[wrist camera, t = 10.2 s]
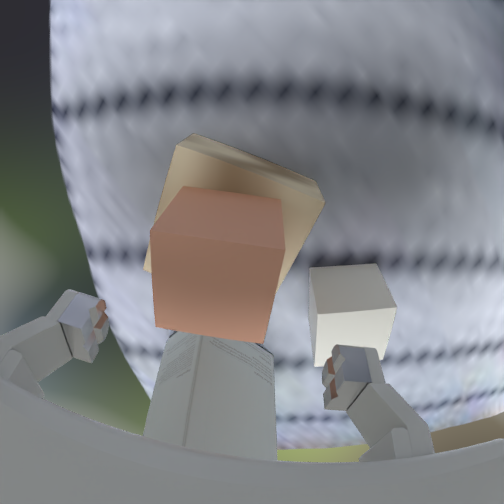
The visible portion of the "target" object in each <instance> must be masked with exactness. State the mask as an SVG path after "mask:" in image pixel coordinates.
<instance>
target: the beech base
mask: <svg viewBox="0 0 504 504" xmlns="http://www.w3.org/2000/svg"><path fill="white" fill-rule="evenodd" d="M183 186H187V187H195V188H204V189H211V190H219V191H226V192H234V193H241V194H248V195H255V196H261V197H268V198H274V199H281V205H282V216H283V227H284V238H285V254H284V259H283V263H282V268H281V272H280V276H279V281H278V285H277V289H276V292H277V291H278V289H279V287H280V285H281V283H282V282H283V280H284V278H285V276H286V275H287V273H288V271H289V269H290V267H291V266H292V264H293V262H294V260H295V258H296V257H297V255H298V253H299V251H300V249H301V248H302V246H303V244H304V242H305V240H306V238H307V237H308V235H309V233H310V231H311V229H312V227H313V226H314V224H315V222H316V220H317V218H318V216H319V214H320V212H321V211H322V209H323V207H324V205H325V200H324V198H323V196H322V194H321V191H320V189H319V187H318V185H317V183H316V181H314V180H312V179H310V178H308V177H305V176H303V175H301V174H298V173H296V172H294V171H291V170H289V169H287V168H284V167H282V166H279V165H277V164H274V163H272V162H270V161H267V160H265V159H262V158H260V157H257V156H254V155H252V154H249V153H247V152H244V151H242V150H239V149H236V148H234V147H231V146H228V145H225V144H223V143H220V142H217V141H214V140H212V139H209V138H206V137H203V136H200V135H197V134H194V133H193V134H192V135H190V136H189V137H187V138H186V139H184V140H183V141H181V142H180V143H178V144H177V145H176V148H175V151H174V154H173V157H172V160H171V164H170V167H169V170H168V174H167V177H166V180H165V184H164V187H163V191H162V195H161V198H160V202H159V206H158V209H157V213H156V217H155V221H154V224H155V223H156V221H157V220H158V219H159V217H160V216H161V214H162V213H163V212H164V210H165V209H166V208H167V206H168V205H169V204H170V202H171V201H172V200H173V198H174V197H175V196H176V195H177V193H178V192H179V191H180V189H181V188H182V187H183ZM143 270H145V271H147V272H150V273H152V271H151V249H150V241H149V246H148V250H147V254H146V259H145V264H144V268H143ZM275 294H276V293H275Z"/></svg>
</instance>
